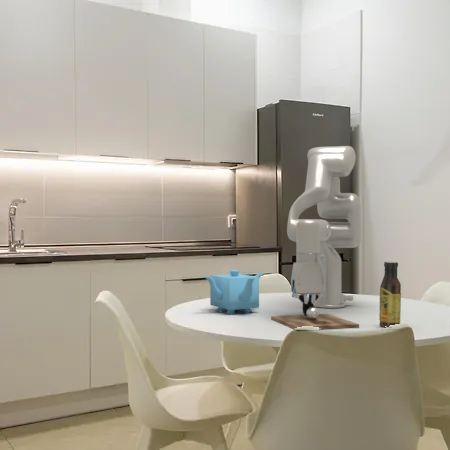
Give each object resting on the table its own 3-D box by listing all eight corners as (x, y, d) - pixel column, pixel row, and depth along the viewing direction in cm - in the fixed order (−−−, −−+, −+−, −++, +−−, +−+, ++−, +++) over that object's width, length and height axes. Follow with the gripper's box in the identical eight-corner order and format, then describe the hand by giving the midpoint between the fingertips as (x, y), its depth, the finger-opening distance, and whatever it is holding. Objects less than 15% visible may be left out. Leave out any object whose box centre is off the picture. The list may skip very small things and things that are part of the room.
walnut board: (326, 316, 209) (326, 313, 209) (359, 327, 188) (359, 324, 188) (271, 319, 203) (271, 316, 203) (298, 330, 182) (298, 327, 182)
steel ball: (315, 307, 198) (320, 305, 195) (316, 320, 197) (321, 318, 194) (303, 308, 197) (308, 306, 194) (305, 321, 196) (309, 319, 193)
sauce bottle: (376, 324, 193) (376, 260, 192) (396, 324, 193) (396, 260, 193) (383, 328, 186) (383, 262, 186) (403, 328, 187) (404, 262, 186)
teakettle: (216, 307, 231) (216, 267, 231) (266, 309, 227) (266, 268, 226) (201, 314, 213) (201, 271, 213) (255, 316, 208) (255, 273, 208)
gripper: (324, 257, 204) (324, 313, 205) (282, 258, 200) (281, 315, 201) (334, 258, 197) (334, 316, 197) (290, 259, 193) (290, 318, 193)
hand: (308, 315), depth 199 cm, fingers closed
